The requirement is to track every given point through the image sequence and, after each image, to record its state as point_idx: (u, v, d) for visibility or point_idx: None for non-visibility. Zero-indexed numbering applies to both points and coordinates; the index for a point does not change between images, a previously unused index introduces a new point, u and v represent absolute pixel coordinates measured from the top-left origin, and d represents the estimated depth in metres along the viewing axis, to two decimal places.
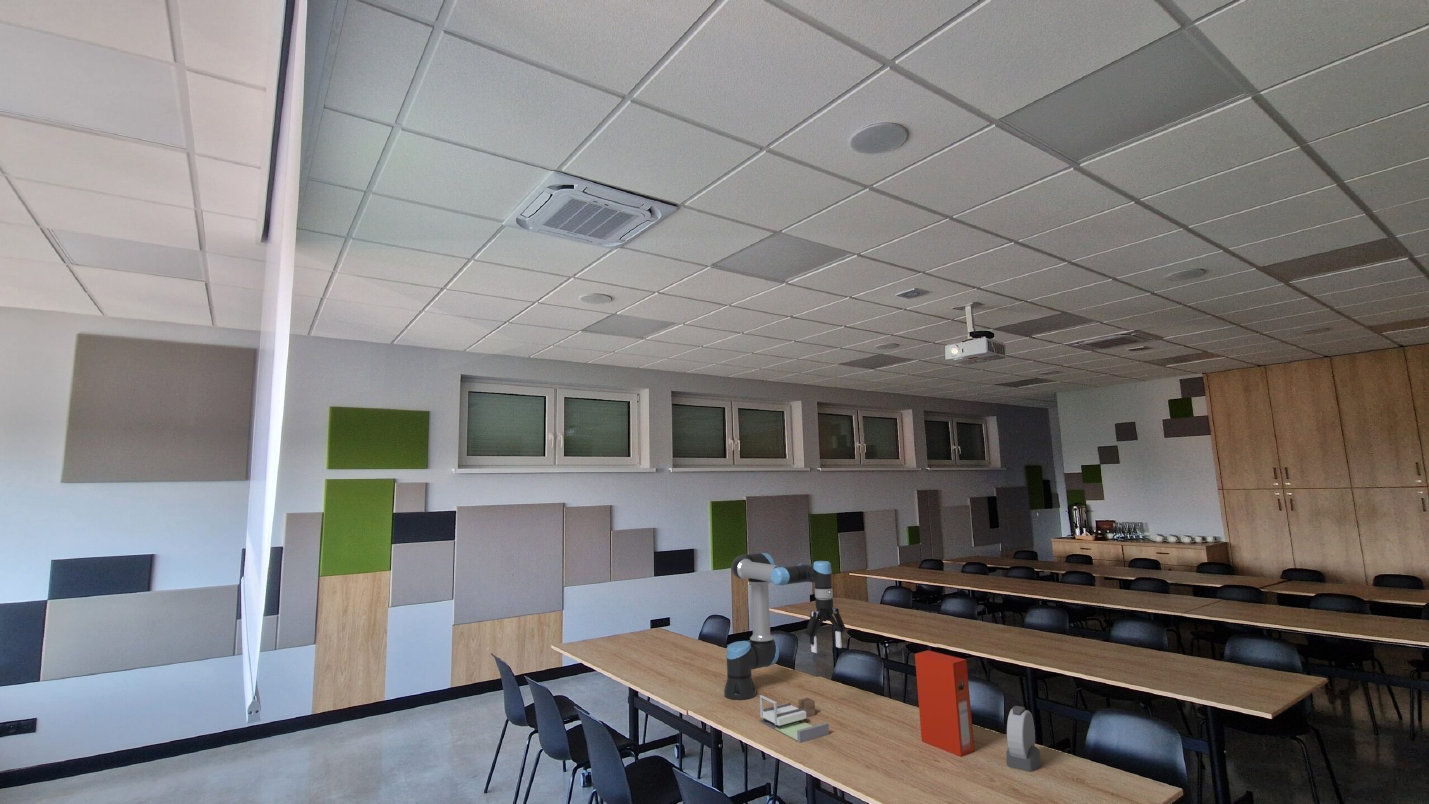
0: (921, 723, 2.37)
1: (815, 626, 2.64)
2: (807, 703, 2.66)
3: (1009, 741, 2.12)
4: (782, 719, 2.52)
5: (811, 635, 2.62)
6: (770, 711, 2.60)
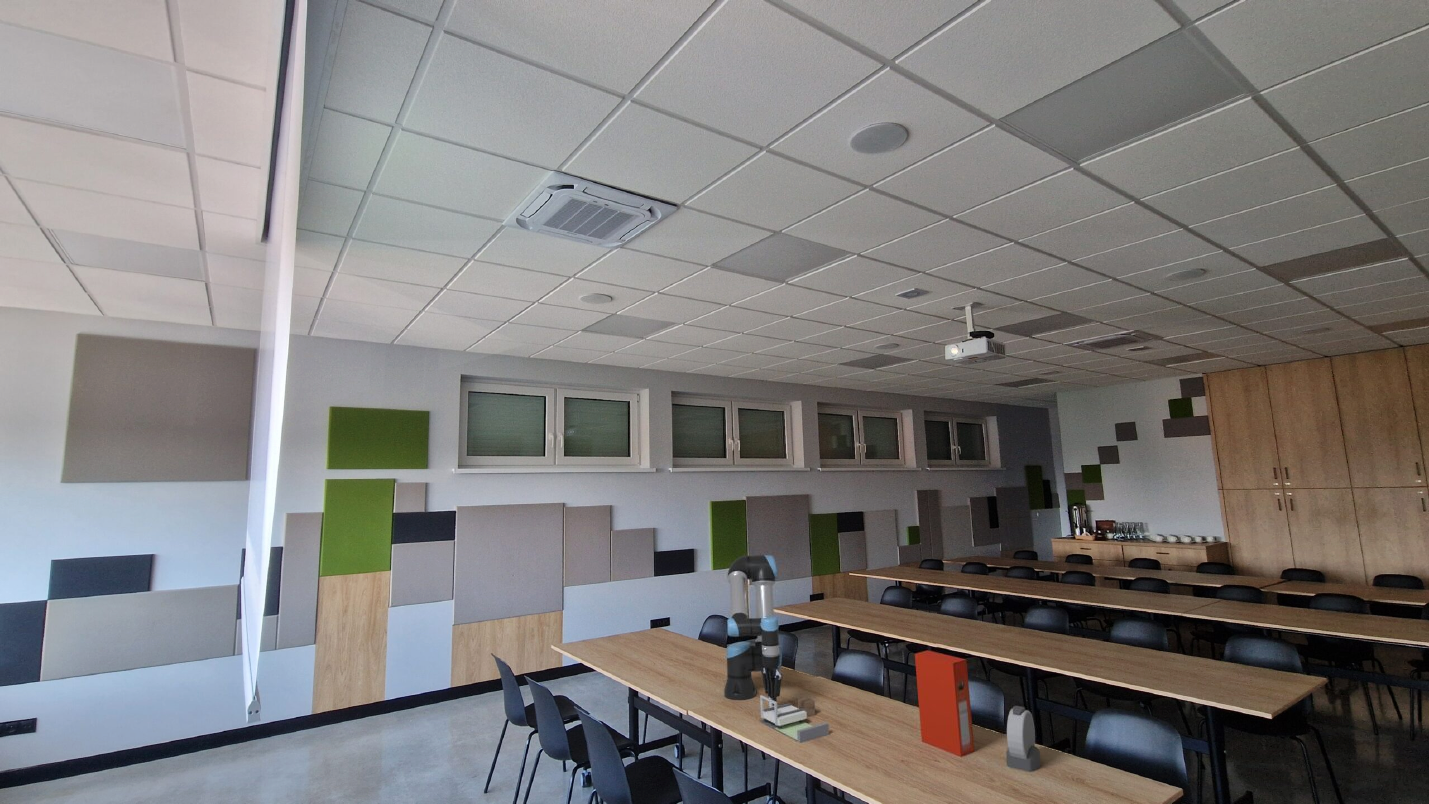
0: (921, 723, 2.37)
1: None
2: (807, 703, 2.66)
3: (1009, 741, 2.12)
4: (782, 720, 2.52)
5: (768, 695, 2.68)
6: (770, 711, 2.60)
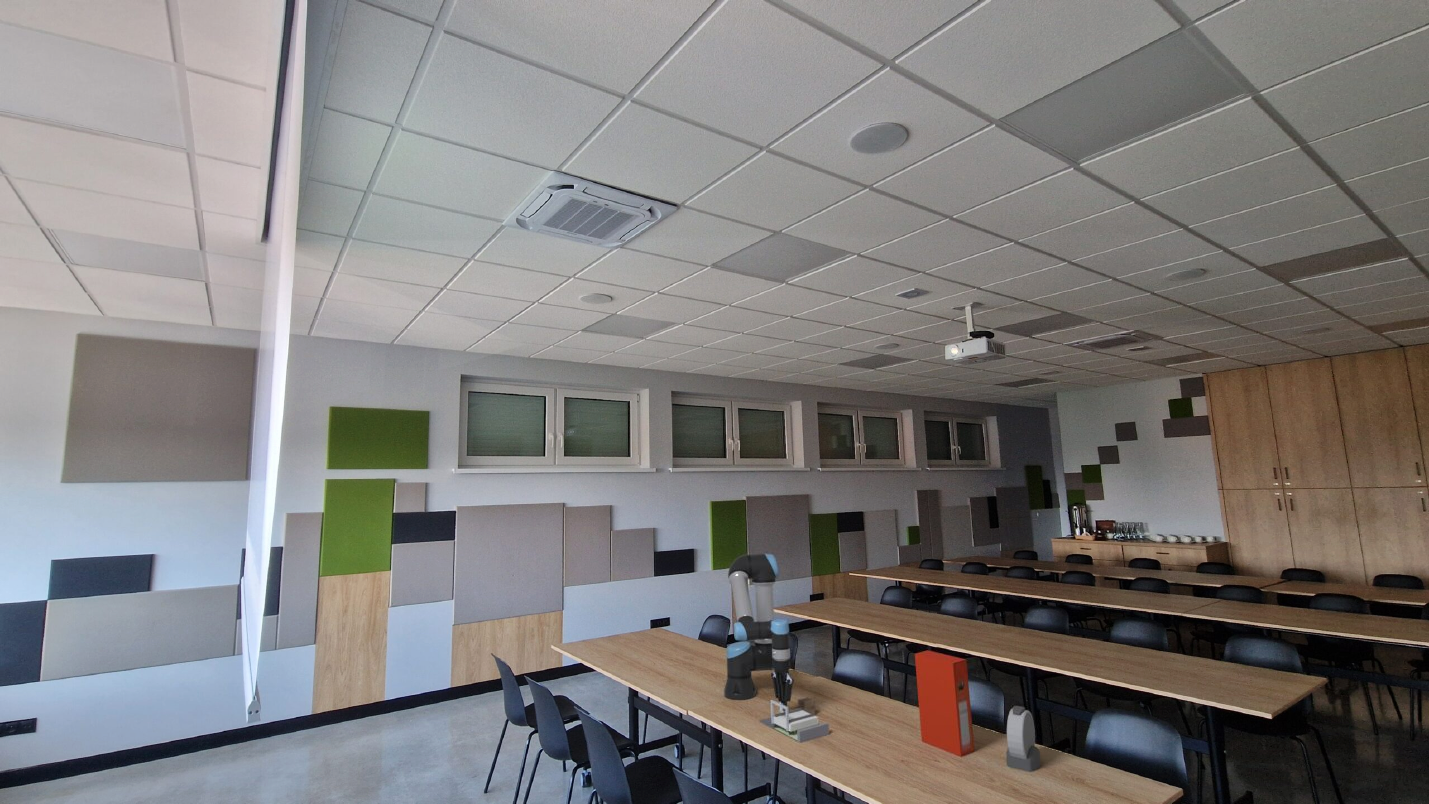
0: (921, 723, 2.37)
1: None
2: (807, 703, 2.66)
3: (1009, 741, 2.12)
4: (794, 725, 2.45)
5: None
6: (781, 716, 2.53)
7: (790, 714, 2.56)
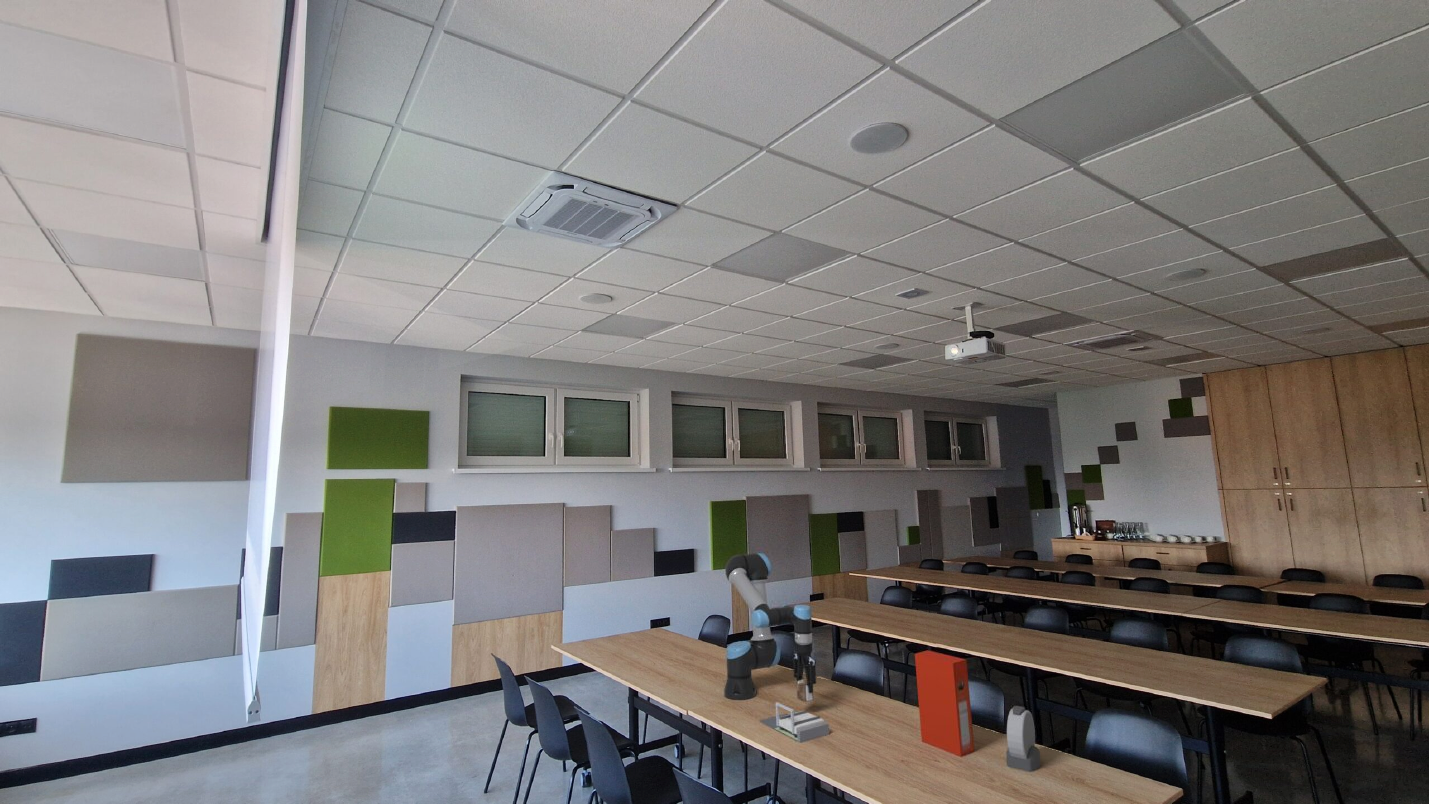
0: (921, 723, 2.37)
1: None
2: None
3: (1009, 741, 2.12)
4: (799, 728, 2.42)
5: None
6: (786, 719, 2.50)
7: (795, 716, 2.53)
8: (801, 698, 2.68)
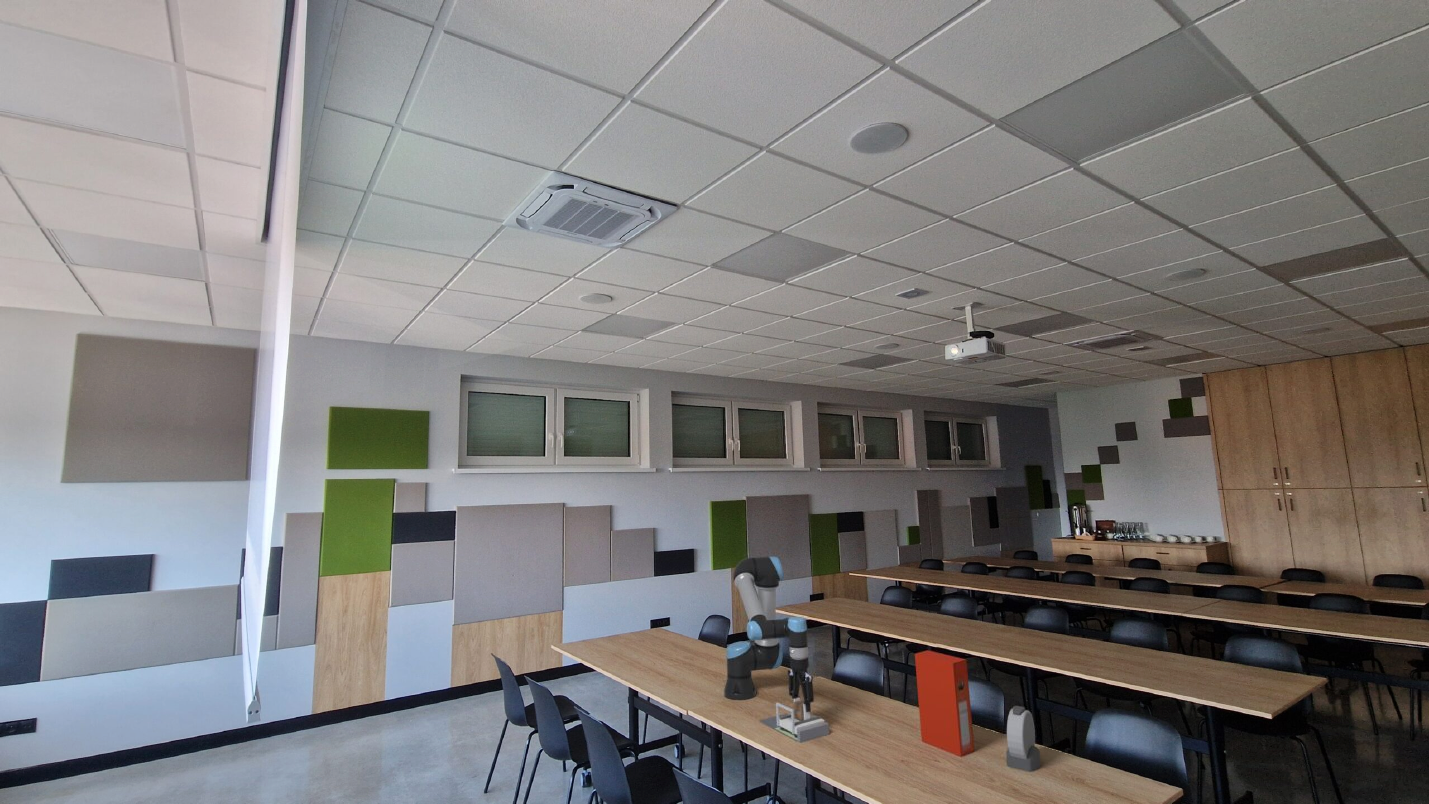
0: (921, 723, 2.37)
1: None
2: (802, 706, 2.49)
3: (1009, 741, 2.12)
4: (800, 728, 2.42)
5: None
6: (787, 719, 2.50)
7: None
8: (797, 717, 2.50)
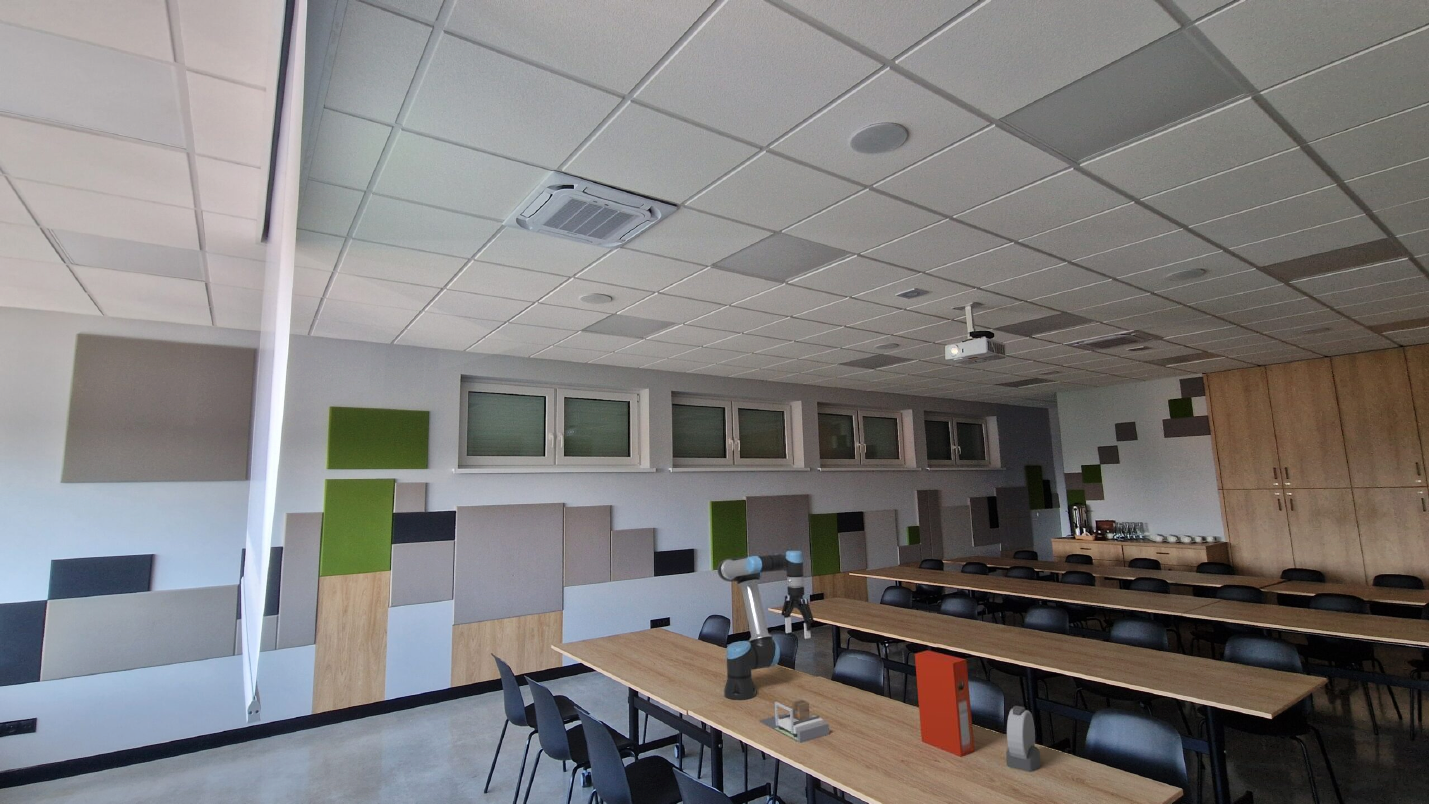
0: (921, 723, 2.37)
1: None
2: (801, 705, 2.50)
3: (1009, 741, 2.12)
4: (798, 728, 2.43)
5: None
6: (786, 719, 2.51)
7: None
8: (796, 717, 2.50)
